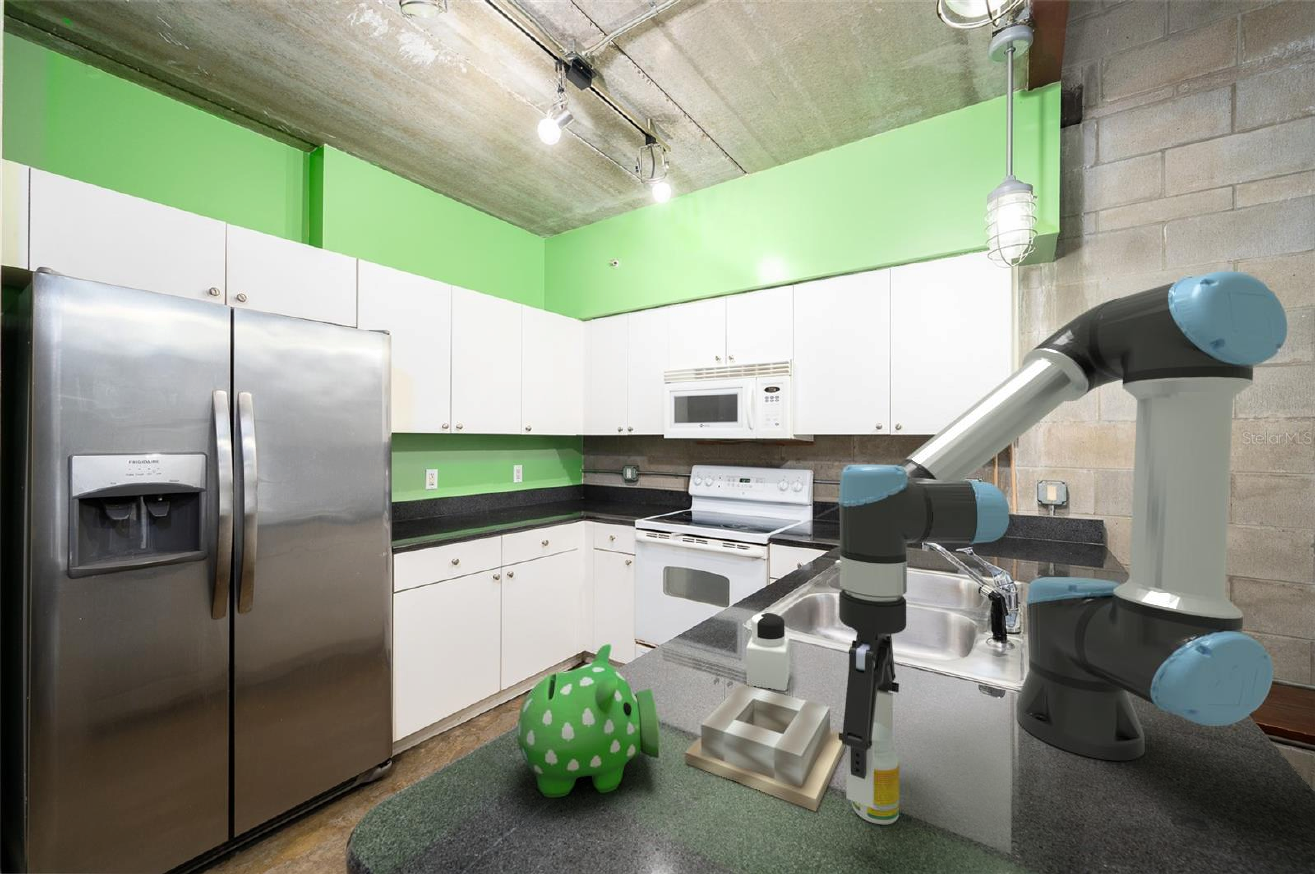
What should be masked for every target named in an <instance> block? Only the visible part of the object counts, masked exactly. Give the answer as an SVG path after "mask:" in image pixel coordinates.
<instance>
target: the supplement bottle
mask: <svg viewBox="0 0 1315 874" xmlns="http://www.w3.org/2000/svg"><path fill="white" fill-rule="evenodd" d="M893 734H894V733H893ZM893 734H892V732H891V730H890V729H889V728H887V727H886V726H884V725H881V724H878V723H874V724H873V733H872V743H873V744H874V805H873V808H871V807H868V806H865V805H863V804H860V803H857V802H854V801H851V800H850V802H851V806H852V809H853V811H854V812H855V813H856V814H857V815H858V816H859V817H860V818H862V819H863V820H864V821H867V822H870V823H872V824H876V825H877V824H878V825H883V826H884V825H890V824H893V823H895V822H896V821H897V820H898V818H899V816H900V759H899V755H898V752H897V751H896V750H895V748H894V747H893V746H894V735H893Z"/></svg>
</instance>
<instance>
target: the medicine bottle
mask: <svg viewBox="0 0 1315 874" xmlns="http://www.w3.org/2000/svg"><path fill="white" fill-rule="evenodd" d="M785 629H786V627H785V619H784V618H783V617H782V616H780V615H778V614H776V613H773V612H760V613H757V614H754V615H753V616H752V617H751V636H750V638H749V640H748V643H747V645H746V647H745V650H746V651H745V652H746V653H745V654H746V655H745V656H746V658H745V661H746V669H745V670H746V672H745V673H746V674H745V675H746V685H747V686H748V685H749V686H751V687H754V686H756V687H755V688H761V687H762V688H763V689H768V688H771V689H770V690H774V689H775V691H776V690H777V691H782V692H786V691H787V688H788V682H789V678H790V671H791V670H790V667H791V666H790V664H791V663H790V639H789V637H786V636H785V634H786V633H785V632H786V631H785ZM762 688H761V689H762Z"/></svg>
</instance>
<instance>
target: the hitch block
mask: <svg viewBox="0 0 1315 874" xmlns="http://www.w3.org/2000/svg"><path fill="white" fill-rule="evenodd" d="M839 733H840V732H836V731H833V730H831V707H830V706H828V705H825V704H819V703H816V702H811V701H810V700H809V701H808V700H805V699H801V698H797V697H793V696H789V695H786V694H781V693H778V692H773V691H769V690H768V689H767V690H766V689H764V688H763V689H762V688H760V687H754V686H748V685H747V684H743V683H741V684H740V685H738V686H737V687H736V688H735V690H733V691H732V693H730V694H729V695H728V697H727V698H725V700H723V701H722V702H721V703H720V704H719V706H717V707H716V708H715V709H714V710H713V712H712V713H711V714H710V715H708V717H707V718H706V719H704V720H703V721H702V723H701V724H700V736H699V737H698V738H697V739H696V740H695V741H694V742H693V743H692V745H690V746H689V748H688V749H687V750H686V751H685V752H684V764H686V765H689V766H692V767H693V768H697V769H700V770H703V771H705V772H707V773H710V772H711V774H713V775H716V776H719V777H721V776H722V778H724V777H725V778H724V779H726V778H727V779H726V780H729V779H730V781H732V780H734V781H737V782H739V783H738V784H740V783H741V784H740V785H743V786H745V785H746V787H748V786H749V787H748V788H751V789H752V790H756V789H757V791H759V790H760V791H759V792H762V793H764V792H765V794H767V795H769V796H772V795H773V797H775V798H778V799H781V800H783V801H786V802H789V803H791V804H794V805H796V806H799V807H802V808H805V809H808V810H810V811H813V812H817V810H818V808H819V805H820V803H821V801H822V799H823V797H824V794H825V793H826V790H827V788H828V785H829V784H830V782H831V780H832V777H833V774H834V773H835V772H836V768H837V766H838V765H839V762H840V760H841V757H842V755H843V753H844V751H845V748H847V745H844V744H842V741H841V740H839ZM734 781H733V782H734ZM737 782H736V783H737Z"/></svg>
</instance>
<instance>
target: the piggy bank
mask: <svg viewBox="0 0 1315 874" xmlns="http://www.w3.org/2000/svg"><path fill="white" fill-rule="evenodd" d="M611 649H612V644H610V643H609V644H604V645H602V646H601V647H600V648H599V649H598V651H597V653H596V654H595V657H594V660H593V662H590V663H587V664H584V665H582V666H580V667H577V668H575V669H572V670H568V671H563V672H557V673H553V674H551V675H548V676H547V677H545V678H544V679H542V680H541V681H540V682H538V683H537V684H536V685H535V686H534V687H533V688H532V689H531V690H530V692H529V693H528V694H527V696H526V698H525V700H524V702H523V704H522V706H521V709H520V713H519V717H518V720H517V721H518V722H517V740H518V741H517V742H518V747H519V749H520V753H521V755H522V757H523V760H524V761H525V763H526V765H527V767H528V769H529V770H531V771H532V772H533V773H534V774H535V777H536V781H537V788H538V789H539V791H540V793H542V795H543V796H544V797H547V798H561V797H565V796H567V795H569V794H570V792H571V791H572V789H573V788H574V786H575V784H576V780H577V779H578V778H582V777H589V776H590V777H591V779H592V780H591V781H592V784H593V787H594V788H595V789H596V790H597V792H598V793H600V794H605V793H609V792H613V791H614V790H616V789H617V788H618V786H619V784H620V783H621V782H622V779H623V773H624V768H625V766H626V764H627V763H628V762H629V761H630V760H632V759H633V758H634V757H636V756H637V755H638V754H640V753H642V754H643V755H646V756H647V757H650V758H655V759H658V758H659V756H660V733H659V732H660V731H659V720H658V719H659V718H658V712H657V706H656V701H655V697H654V694H653V691H652V689H651V688H647V689H643V690H639V691H637V692H635V693H633V691H632V690H631V687H630V686H629V682H628V681H627V680H626V679H625V677H624V676H622V675H621V674H620V672H619V671H617V670H616V669H615V668H614V667H613V666H612V665H611V664H610V663H609V659H610V655H611V651H612V650H611Z"/></svg>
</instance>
